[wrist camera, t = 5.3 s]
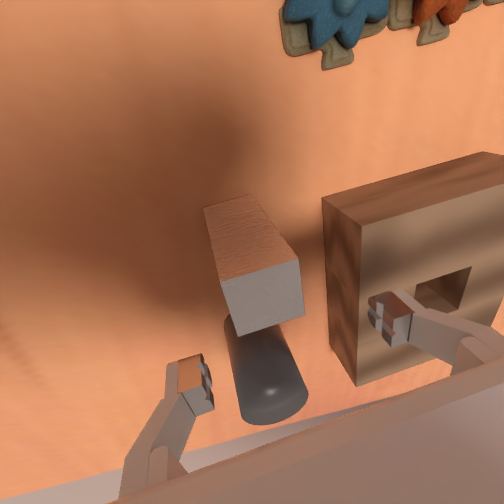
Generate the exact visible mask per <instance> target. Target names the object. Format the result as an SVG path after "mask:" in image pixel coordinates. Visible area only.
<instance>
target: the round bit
mask: <svg viewBox="0 0 504 504" xmlns="http://www.w3.org/2000/svg"><path fill="white" fill-rule="evenodd" d="M224 331H225V336H226V341H227V346H228V351H229V356H230V361H231V367H232V372H233V377H234V382H235V387H236V392H237V397H238V402H239V407H240V412H241V416H242V418H243V420H244V421H246V422H247V423H249V424H253V425H269V424H274V423H277V422H280V421H283V420H285V419H287V418H289V417H291V416H292V415H294V414H295V413H297V412H298V411H299V410H300V409H301V408H302V407H303V406H304V405H305V403H306V401H307V399H308V390H307V388H306V386H305V383H304V381H303V379H302V377H301V374H300V372H299V370H298V367H297V365H296V363H295V361H294V358H293V356H292V354H291V351H290V349H289V347H288V345H287V342H286V340H285V338H284V336H283V333H282V331H281V329H280V326H279V324H276V325H273V326H270V327H267V328H264V329H261V330H258V331H255V332H251V333H248V334H245V335H242V336H239V337H238V335H237V332H236V329H235V326H234V323H233V320H232V317H231V314H229V315H228V317H227V318H226V320H225V323H224Z"/></svg>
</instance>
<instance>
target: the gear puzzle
mask: <svg viewBox="0 0 504 504" xmlns="http://www.w3.org/2000/svg"><path fill="white" fill-rule="evenodd" d="M503 1H504V0H286V4H285V7H282V8H280V9H279V20H280V28H281V35H282V42H283V47H284V49H285V51H286V53H287V54H288V55H290V56H299V55H303V54H306V53H310V52H313V51H316V50H321V51H322V53H323V56H322V61H321V67H322V70H327V69H331V68H335V67H339V66H342V65H346V64H351V63H352V62H353V61H354V54H353V51H352V48H353V47H354V46H355V45H356V44H357V42H358V40H359V39H361V38H364V37H368V36H371V35H374V34H376V33H379V32H381V31H382V30H383V29H384V28H385V26H386V24H387V27H388V28H389V29H390V30H398V29H402V28H406V27H410V26H414V25H419V26H420V31H419V34H418V38H417V46H420V45H425V44H429V43H432V42H436V41H439V40H442V39H445V38H447V37H448V36H449V33H450V30H449V25H450V24H453V23H455V22H456V21H457V20H458V19H459V18H460V16H461V14H462V13H463V12H466V11H469V10H472V9H474V8H477V7H478V6H479V5H481V4H482V2H483V3H484V4H485V5H492V4H496V3H500V2H503Z"/></svg>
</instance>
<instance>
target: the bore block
mask: <svg viewBox="0 0 504 504" xmlns="http://www.w3.org/2000/svg"><path fill="white" fill-rule="evenodd" d="M322 209H323V228H324V247H325V265H326V284H327V303H328V322H329V341H330V345H331V347H332V349H333V350H334V352H335V353H336V355H337V357H338V358H339V360H340V362H341V363H342V365H343V367H344V368H345V370H346V372H347V373H348V375H349V377H350V378H351V380H352V381H353V383H354V385H355V386H356V387H358V386H361V385H364V384H367V383H369V382H372V381H375V380H378V379H380V378H383V377H386V376H389V375H391V374H394V373H397V372H400V371H402V370H405V369H408V368H410V367H413V366H416V365H419V364H421V363H424V362H427V361H430V360H432V359H435V358H437V357H435V356H433V355H431V354H429V353H427V352H425V351H423V350H421V349H419V348H417V347H415V346H413V345H411V344H409V343H408V342H407V343H404V344H400V345H397V346H394V347H390V346H389V345H388V343H387V342H386V341H385V340H384V339H383V338H382V332H381V331H378V330H376V329H375V328H374V327H373V326H372V324H371V323H370V321H369V318H368V309H369V308H370V305H369V304H368V299H369V297H372V296H375V295H377V294H380V293H383V292H386V291H389V290H392V289H395V288H398V287H399V288H402V289H403V290H404V291H405V292H406V293H408V294H409V295H410V296H411V297H412V298H414V299H415V300H416V301H417V302H419V303H420V304H421V305H422V306H423V307H425V308H426V309H428V308H431V309H434V310H437V311H440V312H444V313H447V314H450V315H453V316H456V317H460V318H463V319H466V320H469V321H472V322H476V323H479V324H482V325H485V326H488V327H491V324H492V322H493V320H494V318H495V315H496V313H497V311H498V308H499V306H500V304H501V302H502V299H503V297H504V155H498V154H493V153H488V152H479V153H476V154H472V155H469V156H465V157H462V158H458V159H455V160H451V161H448V162H444V163H441V164H437V165H434V166H430V167H427V168H423V169H420V170H416V171H413V172H409V173H406V174H402V175H399V176H396V177H392V178H389V179H385V180H382V181H378V182H375V183H371V184H368V185H364V186H361V187H357V188H354V189H350V190H347V191H343V192H340V193H336V194H333V195H329V196H326V197H322Z"/></svg>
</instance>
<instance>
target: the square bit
mask: <svg viewBox="0 0 504 504" xmlns="http://www.w3.org/2000/svg"><path fill="white" fill-rule="evenodd" d="M203 210H204V214H205V219H206V223H207V228H208V232H209V237H210V241H211V246H212V250H213V255H214V259H215V263H216V268H217V272H218V277H219V281H220V285H221V288H222V291H223V294H224V297H225V299H226V302H227V305H228V308H229V311H230V314H231V317H232V320H233V323H234V326H235V329H236V332H237V335H238V337H239V336H242V335H245V334H248V333H251V332H255V331H258V330H261V329H264V328H267V327H270V326H273V325H276V324H279V323H282V322H285V321H288V320H291V319H294V318H297V317H300V316H303V315H305V309H304V300H303V292H302V284H301V275H300V267H299V259H298V257H297V256H296V254H295V253H294V252H293V250H292V249H291V247H290V246H289V245H288V243H287V242H286V241H285V239H284V238H283V237H282V235H281V234H280V233H279V231H278V230H277V228H276V227H275V226H274V224H273V223H272V222H271V220H270V219H269V218H268V216H267V215H266V213H265V212H264V211H263V209H262V208H261V207H260V205H259V204H258V203H257V201H256V200H255V199H254V197H253V196H252V194H250V195H247V196H243V197H239V198H236V199H232V200H229V201H225V202H221V203H218V204H214V205H211V206H207V207H203Z"/></svg>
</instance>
